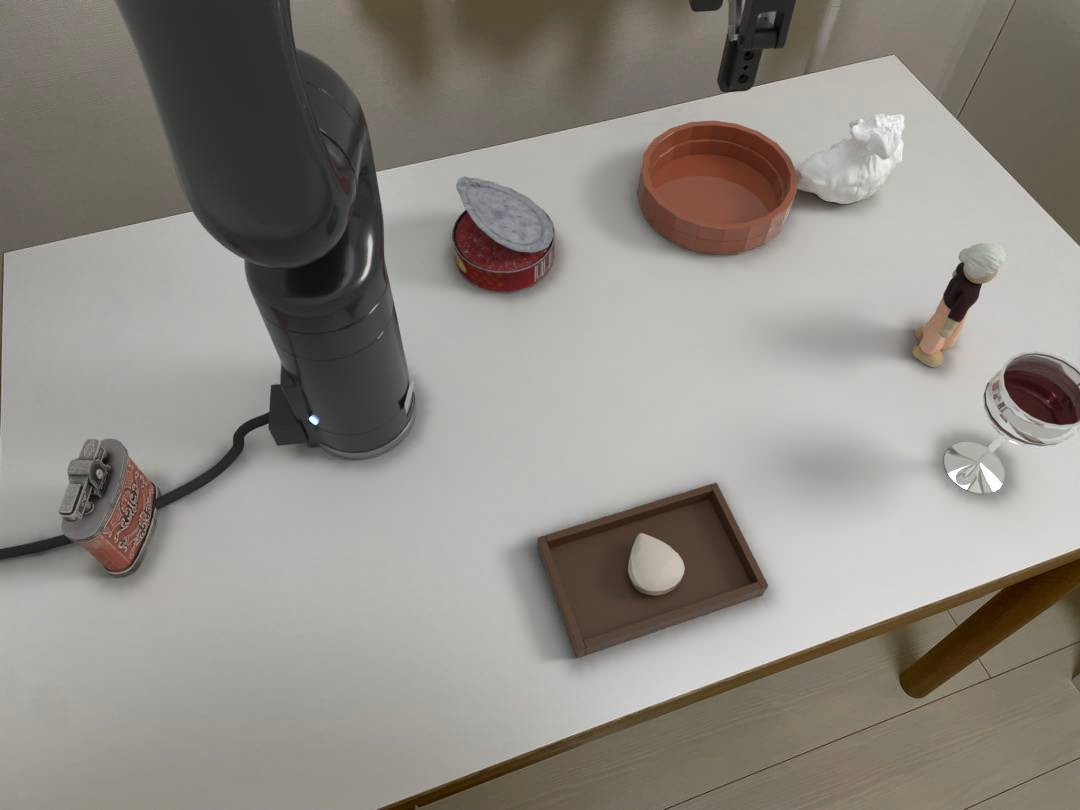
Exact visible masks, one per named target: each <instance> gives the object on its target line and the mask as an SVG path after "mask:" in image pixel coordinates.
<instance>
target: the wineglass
mask: <svg viewBox="0 0 1080 810" xmlns="http://www.w3.org/2000/svg"><path fill="white" fill-rule="evenodd" d="M982 402H983V412H984V414H985V417H986V419H987V421H988V423H989V424H990V425H991V427H992V428H993V429H994V430H995V431H996V432H997V433H998V434H997V435H996V436H995V438H994V439H993V440H992V442H991V443H990V444H988V447H986V446H984V445H982V444H979V443H977V442H973V441H960V442H956V443H955V444H952V445H950V446H949V448H947V449H946V451H945V453H944V457H943V463H944V468H945V471H946V473H947V475H948V476H949V477H950V479H951V480H952V481H953V482H954V483H955V484H957V485H958V487H960V488H961V489H964V490H966V491H968V492H970V493H973V494H980V495H984V494H991V493H994V492H996V491H997V490H999V489H1000V488H1001V486H1002V485H1003V484H1004V481H1005V478H1006V475H1005V474H1006V473H1005V467H1004V465H1003V463H1002V460H1001V459H1000V458H999V457H998V456H997V454H996V453H994V452H995V451H996V450H997V449H998V448H1000V446H1002V445H1003V444H1004V443H1005V442H1006V441H1009V442H1011V443H1013V444H1015V445H1019V446H1021V447H1026V448H1031V449H1042V448H1043V449H1044V448H1049V447H1055V446H1056V445H1059V444H1060V443H1063V442H1065V441H1067V440H1069V439H1071V438H1072V437H1073V436H1074V435H1075V434H1076V433H1077V431H1079V429H1080V368H1079V367H1078V366H1076V365H1075V364H1073V363H1072V362H1070V361H1068V360H1067V359H1065V358H1063V357H1061V356H1058V355H1055V354H1053V353H1051V352H1044V351H1037V350H1032V351H1031V350H1030V351H1022V352H1019V353H1016V354H1015V355H1014V354H1013V355H1012V356H1010V357H1009V359H1007V360H1006V361H1005V362H1004V364H1003V366H1002V368H1001V369H1000V370H998V371H997V372H996V373H995V374H994V375H993V376H992V377H991V378H990V379H989V381H988V382H987V383H986V387H985V389H984V392H983V401H982Z"/></svg>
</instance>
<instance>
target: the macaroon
mask: <svg viewBox="0 0 1080 810" xmlns="http://www.w3.org/2000/svg"><path fill="white" fill-rule="evenodd" d="M684 570H685V567H684V563H683V560H682V559H681V557H680V556H679V554H678V553H677V552H675V551H674V550H673V549H672V548H671V547H670V546H669V545H667V544H665V543H664V542H662V541H660V540H658V539H656V538H654V537H651V536H649V535H646V534H644V533H640V534H639V535H638V536H637V538H636V540H635V542H634V545H633V547H632V550H631V554H630V558H629V563H628V575H629V579H630V581H631V583H632V584H633V586H634V587H635V588H636V589H637V590H638V591H640V592H641V593H644V594H647V595H661V594H666V593H668V592H670V591H671V590H673V589H674V588H675V587H676V586H677V585H678V584H679V583H680V581H681V579H682V576H683V574H684Z"/></svg>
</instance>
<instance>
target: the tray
mask: <svg viewBox="0 0 1080 810" xmlns="http://www.w3.org/2000/svg"><path fill="white" fill-rule="evenodd" d="M640 533H644V534H646V535H649V536H651V537H654V538H656V539H658V540H660V541H662V542H664V543H665V544H667V545H669V546H670V547H671V548H672V549H673V550H674V551H675V552H677V553H678V554H679V556H680V557H681V559H682V560H683V563H684V567H685V570H684V574H683V576H682V579H681V581H680V583H679V584H678V585H677V586H676V587H675V588H674V589H673V590H671V591H670V592H668V593H666V594H661V595H647V594H644V593H641V592H640V591H638V590H637V589H636V588H635V587H634V586H633V584H632V583H631V581H630V579H629V575H628V563H629V558H630V554H631V550H632V547H633V545H634V542H635V540H636V538H637V536H638V535H639V534H640ZM536 543H537V544H536V549H537V551H538V555H539V557H540V561H541V562H542V565H543V568H544V571H545V574H546V577H547V579H548V582H549V585H550V588H551V590H552V594H553V596H554V599H555V602H556V604H557V608H558V610H559V614H560V616H561V619H562V621H563V624H564V627H565V630H566V632H567V635H568V638H569V640H570V643H571V646H572V649H573V652H574V655H575V657H576V659H579V658H582V657H586V656H588V655H591V654H594V653H597V652H600V651H603V650H605V649H608V648H612V647H614V646H618V645H620V644H623V643H626V642H629V641H632V640H635V639H638V638H641V637H644V636H647V635H649V634H652V633H656V632H659V631H663V630H664V629H667V628H670V627H673V626H676V625H679V624H682V623H685V622H689V621H691V620H694V619H697V618H699V617H703V616H706V615H708V614H712V613H715V612H717V611H721V610H723V609H726V608H730V607H732V606H736V605H738V604H741V603H745V602H747V601H750V600H753V599H756V598H758V597H762V596H764V593H765V592H766V590H767V589H768V588H769V584H768V582H767V580H766V578H765V576H764V574H763V572H762V570H761V568H760V566H759V564H758V562H757V559H756V558H755V556H754V555H753V551H752V550H751V549H750V546H749V544H748V542H747V540H746V538H745V536H744V535H743V532H742V531H741V529H740V526H739V524H738V523H737V520H736V519H735V517H734V514H733V512H732V511H731V509H730V506H729V504H728V503H727V500H726V499H725V497H724V494H723V493H722V489H720V487H719V485H718V482H714V483H710V484H707V485H703V486H700V487H697V488H694V489H690V490H686V491H684V492H681V493H678V494H675V495H671V496H667V497H665V498H664V497H663V498H662V499H657V500H655V501H652V502H649V503H645V504H641V505H639V506H635V507H632V508H629V509H625V510H623V511H620V512H616V513H613V514H610V515H606V516H602V517H600V518H597V519H594V520H590V521H587V522H583V523H581V524H578V525H574V526H571V527H567V528H564V529H561V530H557V531H555V532H552V533H551V532H550V533H549V534H545V535H541V536H539V537H537V539H536Z"/></svg>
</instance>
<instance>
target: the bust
mask: <svg viewBox="0 0 1080 810" xmlns="http://www.w3.org/2000/svg"><path fill="white" fill-rule="evenodd" d="M848 126H849V128H850V130H849V134H850V135H851V136H847V137H844V138H842V139H841V140H840V141H838V142H837V143H836V144H833V145H832V146H831V147H830V148H829V149H828V150H820V151H817V152H815V153H813V154H811V155H810V156H808V157H807V158H806V159H805V160H804V161H803V162H802V163H801V164H800V165H799V166H798V167H797V168H795V170H796V173H797V191H798V190H799V191H802V192H805V193H806V192H807V193H813V194H815V195H816V196H817V197H819V198H820V199H821V200H823V201H825V202H829V203H832V202H833V203H836V204H839V205H846V204H847V205H848V204H852V203H856V202H859V201H862V200H865V199H868V198H870V197H871V196H872V195H873V194H875V193H876V192H877V191H879V190H880V189H881V188H882V187H883V186H884V184H885V182H886V181H887V180H888V178H889V177H890V174H891V172H892V171H893V170H894V169H895V167H896V166H898V165H899V164H901V162H902V161H903V160H904V159H903V152H904V145H905V143H904V140H903V139H902V135H903V132H904V129H905V126H906V124H905V116H904V114H901V113H896V114H891V115H890V114H885V113H882V112H880V113H878V112H877V113H876V114H874V115H872V116H871V117H869V119H868V120H867V121H865V119H862V118H859V119H858V118H857V119H852V120H851V121H850V122H849V124H848Z"/></svg>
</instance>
